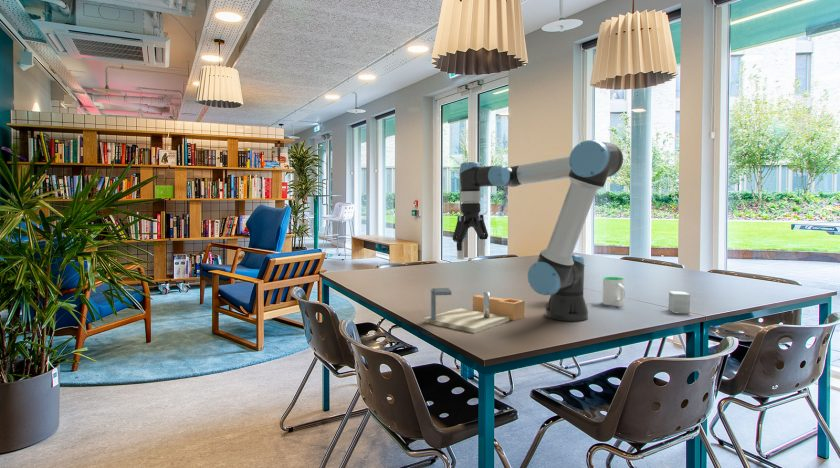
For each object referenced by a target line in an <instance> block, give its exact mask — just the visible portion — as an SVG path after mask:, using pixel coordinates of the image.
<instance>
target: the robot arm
mask: <svg viewBox="0 0 840 468" xmlns="http://www.w3.org/2000/svg"><path fill="white" fill-rule="evenodd" d="M623 163H624V154H623V152H622V150H621V149H620V147H618V146H617V145H616V144H614V143H612V142H607V141H601V140H597V139H587V140H583V141H581V142H580V143H578V144H576V145H575V146H574V148H572V150H571V152H570V153H569V156H564V157H560V158H559V157H557V158H552V159H547V160H542V161H535V162H531V163H525V164H519V165H513V166H506V165H502V164H501V165H500V164H499V165H498V164H496V165H495V164H494V165H487V166H480V163H479V162H478V161H465V162H461V164H460V166H459V168H460V169H459V179H460V181H459V182H460V203H461V204H460V212H461V214H462V215H458V216H457V221H456V225H455V229H454V232H453V236H452V241H453V242H454V243H456V252H457V253H456V254H457V257H456V259H457V260H465V242H464V239H465V236H466V234H467V232H468V230H469V229H470V228H473V229H474V232H475V234H476V235H477V237H478V239H477V256H479V257H485V256H486V250H485V249H486V240H488V238H489V233H488V230H487V227H486V224H485V219H484V214H479V213H480V212H481V204H480V202H481V187H511V188H513V187H515V188H516V187H519V186H521V185H528V184H534V183H542V182H548V181H558V180H563V179H569V180H570V184H569V187H568V189H567V193H566V195H565V199H564V201H563V203H562V206H561V208H560V211H559V214H558V216H557V219H556V223H555V225H554V227H553V231H552V233H551V236H550V238H549V241H548V244H547V247H546V248H545V249H542V250H541V251H540V252H539V255H538V258H537V261H536V262H534V263H533V264H531V266H529V268H528V271H527V282H528V283H529V285H530V286H529V287H530V288H531V289H532V290H533V291H534V292H535V293H536V294H538V295H542V296H549V299H548V301H547V305H546V307H545V312H544V313H545V317H547V318H549V319H552V320H556V321H563V322H564V321H565V322H580V321H585V320H588V318H589V311H588V306H587V304H586V300H585V297H584V288H585V287H584V284H585V283H584V281H585V259H584V257H583V255H576V254H573V253H574V251H575V248H576V246H577V243H578V240H579V238H580V235H581V233H582V231H583V227H584V225H585V222H586V219H587V218H588V215H589V212H590V209H591V206H592V204H593V202H594V199H595V196H596V193H597V192H598V190H601V189H603V188H604V186H605V184H606V182H607V179H608V178H609V177H612V176H614V175H616V174H617V173H618V172H619V171H620V170H621V168H622V166H623Z"/></svg>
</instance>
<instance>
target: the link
mask: <svg viewBox="0 0 840 468" xmlns="http://www.w3.org/2000/svg"><path fill="white" fill-rule="evenodd" d="M525 305H526V304H525V300H521V299H516V298H509V297H508V298H502V297H496V296H490V314H496V315H501V316H507V317H509V321H517V320H520V319H522V318H525V307H526V306H525ZM472 310H473V311H479V312H484V294H482V295H481V294H476V295H472Z"/></svg>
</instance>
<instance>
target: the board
mask: <svg viewBox="0 0 840 468" xmlns="http://www.w3.org/2000/svg"><path fill="white" fill-rule="evenodd" d="M425 322H426V323H425ZM507 322H510V320H509V317H507V316H501V315H496V314H490V318H484V312H479V311H473V309H467V308H461V307H459V308H455V309H451V310H448V311H445V312H444V311H443V312H442V313H436V320H431V315H430V316H427V317H426V316H425V317H424V318H423V323H425V324H429V323H430V324H431V325H435V326H440V327H443V328H444V327H445V328H450V329H452V330H453V329H454V330H458V331H463V332H466V333H471V334H472V333H473V334H477V333H479V332H482V331H484V330H488V329H491V328H493V327H496V326H499V325H502V324H504V323H505V324H506V323H507Z"/></svg>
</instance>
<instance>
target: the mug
mask: <svg viewBox="0 0 840 468" xmlns="http://www.w3.org/2000/svg"><path fill="white" fill-rule="evenodd" d="M625 297H626V290H625V278H623V277H617V276H604V277H602V304H604V305H606V306H617V307H618V306H623V305H624V301H625Z"/></svg>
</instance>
